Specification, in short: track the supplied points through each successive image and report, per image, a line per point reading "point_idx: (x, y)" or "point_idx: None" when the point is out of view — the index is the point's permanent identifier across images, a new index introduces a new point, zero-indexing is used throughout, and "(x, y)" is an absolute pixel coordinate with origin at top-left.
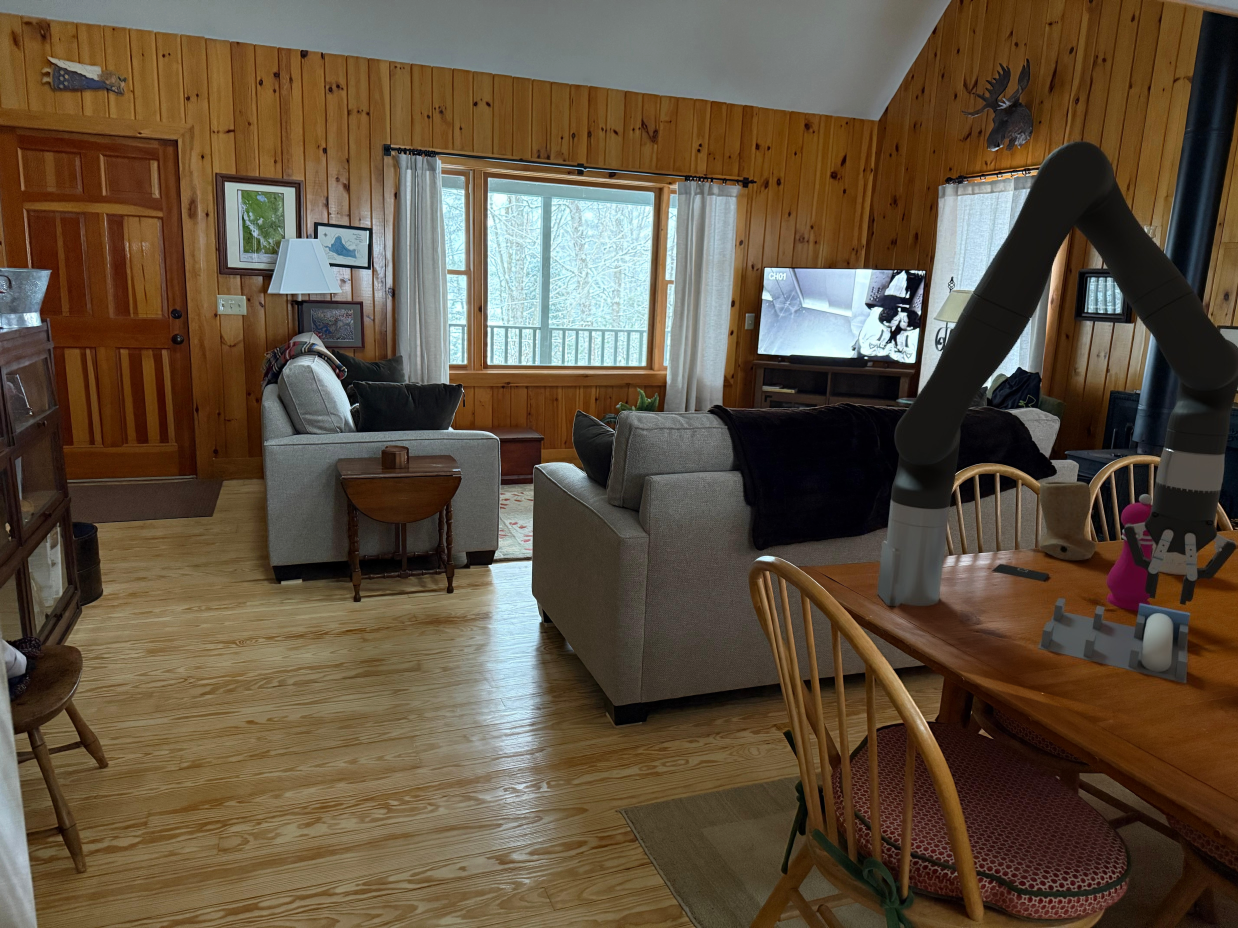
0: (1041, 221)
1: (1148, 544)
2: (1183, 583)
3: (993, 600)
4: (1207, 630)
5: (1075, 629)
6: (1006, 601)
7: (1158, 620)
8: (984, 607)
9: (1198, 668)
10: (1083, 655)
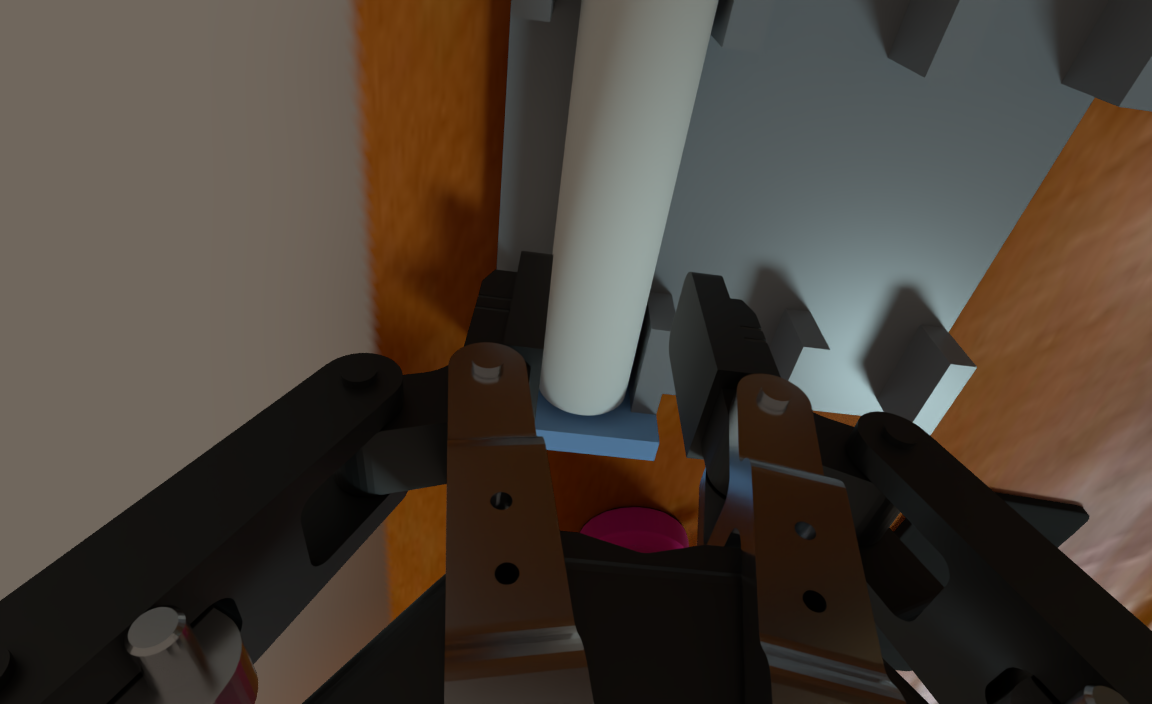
0: None
1: None
2: (544, 332)
3: (1062, 445)
4: (434, 490)
5: (887, 266)
6: (1014, 455)
7: (604, 334)
8: (1140, 372)
9: (462, 144)
10: None
